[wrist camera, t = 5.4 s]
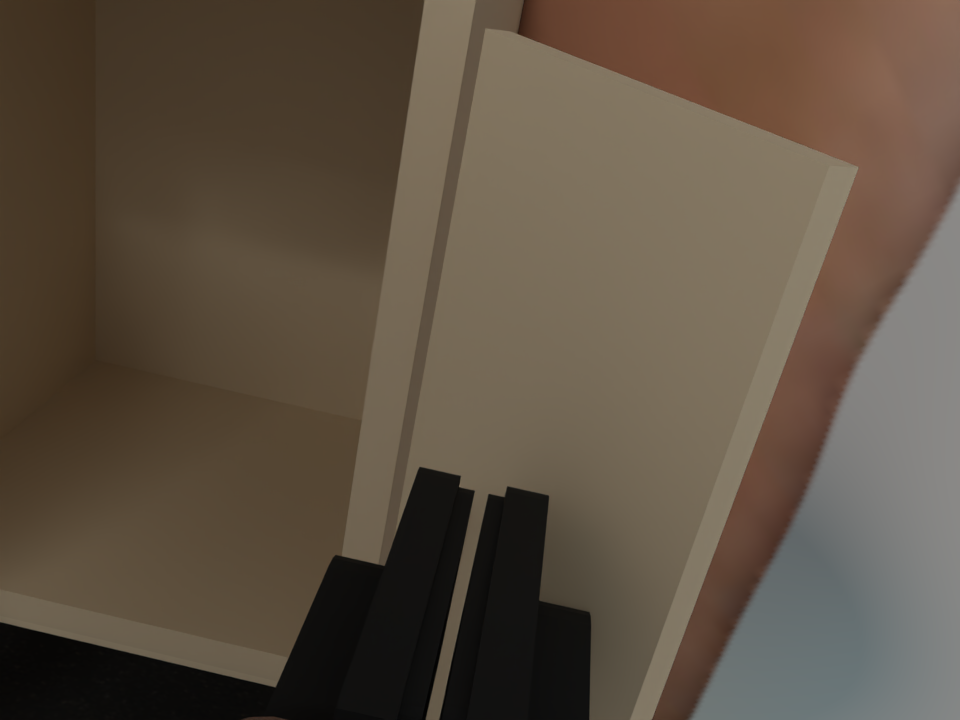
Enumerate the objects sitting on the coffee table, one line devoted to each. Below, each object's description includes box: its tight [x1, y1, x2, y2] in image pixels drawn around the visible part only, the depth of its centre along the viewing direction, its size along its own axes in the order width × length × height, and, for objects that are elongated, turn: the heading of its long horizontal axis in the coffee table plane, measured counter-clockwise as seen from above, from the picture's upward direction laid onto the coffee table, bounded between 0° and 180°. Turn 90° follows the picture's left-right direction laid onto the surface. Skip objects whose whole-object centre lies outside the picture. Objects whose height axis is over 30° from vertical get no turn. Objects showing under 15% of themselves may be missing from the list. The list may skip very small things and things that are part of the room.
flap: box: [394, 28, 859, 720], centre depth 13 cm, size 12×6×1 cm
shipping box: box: [0, 0, 524, 687], centre depth 20 cm, size 15×11×10 cm
